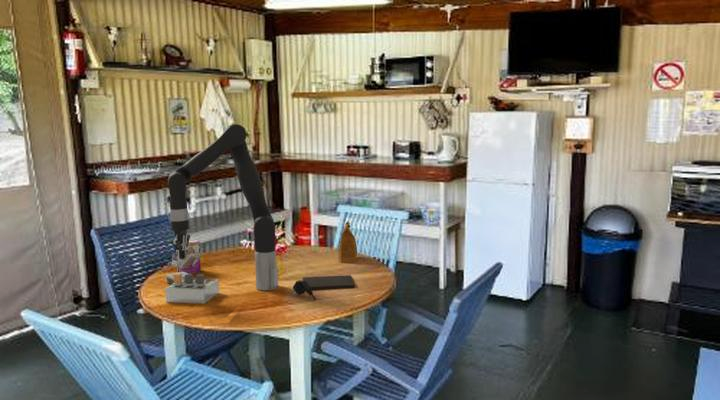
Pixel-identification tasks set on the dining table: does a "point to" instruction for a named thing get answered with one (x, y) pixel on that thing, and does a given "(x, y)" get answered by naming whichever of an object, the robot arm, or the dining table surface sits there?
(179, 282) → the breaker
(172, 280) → the electrical switch
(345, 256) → the coffee package
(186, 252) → the candy bar box
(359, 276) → the dining table surface
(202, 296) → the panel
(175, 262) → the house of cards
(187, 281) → the breaker mid
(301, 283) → the power plug
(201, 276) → the breaker left
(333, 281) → the hardcover book
